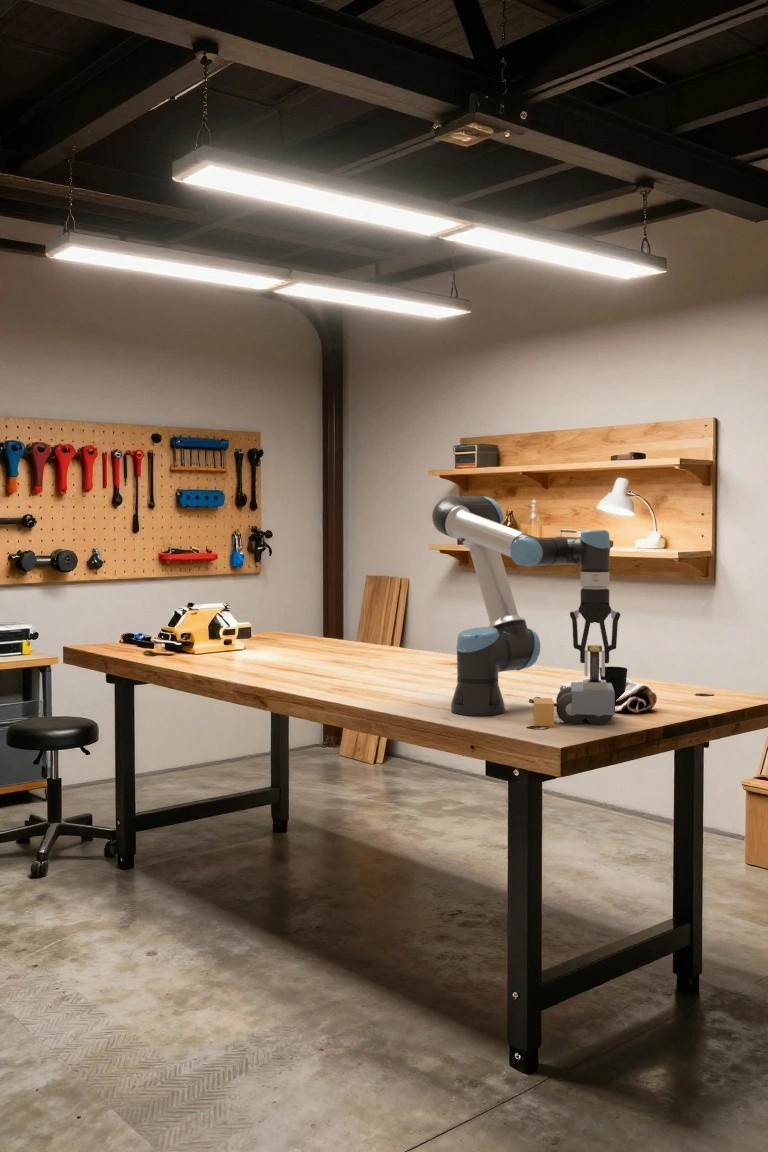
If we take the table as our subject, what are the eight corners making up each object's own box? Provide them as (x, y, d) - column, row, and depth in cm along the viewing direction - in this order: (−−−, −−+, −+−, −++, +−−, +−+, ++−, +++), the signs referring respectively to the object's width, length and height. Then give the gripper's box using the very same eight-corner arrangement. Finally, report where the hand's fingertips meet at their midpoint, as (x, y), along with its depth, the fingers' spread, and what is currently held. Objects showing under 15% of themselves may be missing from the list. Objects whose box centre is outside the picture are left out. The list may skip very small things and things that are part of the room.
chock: (534, 726, 271) (534, 703, 270) (533, 719, 280) (533, 697, 279) (554, 726, 270) (554, 703, 270) (552, 720, 279) (552, 698, 279)
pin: (587, 689, 273) (587, 646, 272) (587, 687, 276) (587, 644, 276) (602, 689, 272) (602, 646, 272) (601, 687, 276) (601, 645, 275)
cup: (623, 707, 296) (623, 666, 296) (630, 712, 289) (630, 670, 288) (596, 708, 296) (596, 666, 296) (603, 712, 289) (603, 670, 288)
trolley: (556, 725, 271) (556, 683, 271) (556, 713, 287) (556, 674, 287) (614, 726, 269) (614, 684, 268) (611, 715, 285) (611, 675, 284)
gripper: (562, 588, 271) (562, 676, 272) (628, 588, 268) (627, 678, 269) (562, 586, 278) (562, 672, 279) (626, 587, 275) (625, 674, 276)
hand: (594, 675), depth 274 cm, fingers closed on pin, 4 cm apart
